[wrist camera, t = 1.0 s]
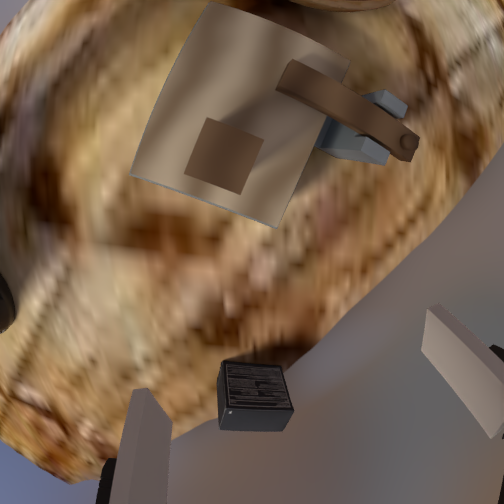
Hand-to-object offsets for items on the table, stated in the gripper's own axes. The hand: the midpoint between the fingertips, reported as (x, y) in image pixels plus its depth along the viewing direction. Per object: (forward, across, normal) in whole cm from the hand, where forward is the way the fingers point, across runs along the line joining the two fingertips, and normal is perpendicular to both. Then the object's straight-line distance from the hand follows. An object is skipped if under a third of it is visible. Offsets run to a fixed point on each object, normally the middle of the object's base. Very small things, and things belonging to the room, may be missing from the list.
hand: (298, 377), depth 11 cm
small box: (+28, -6, -27) cm, 39 cm away
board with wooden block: (+19, +2, +13) cm, 23 cm away
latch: (+18, +12, +11) cm, 24 cm away
